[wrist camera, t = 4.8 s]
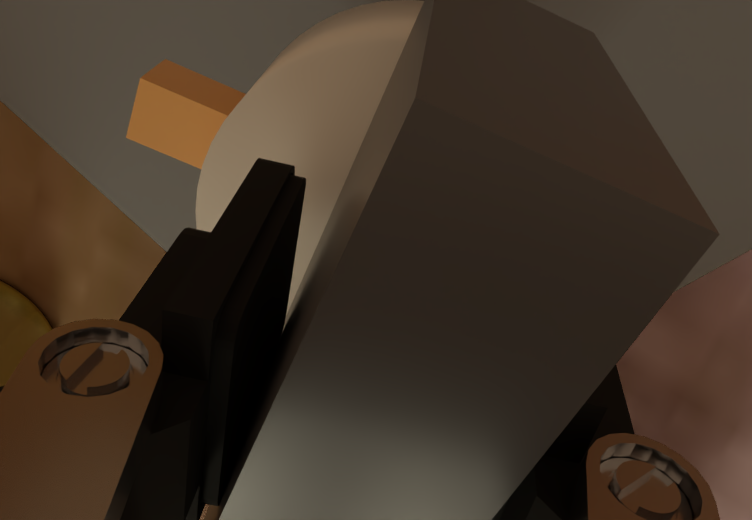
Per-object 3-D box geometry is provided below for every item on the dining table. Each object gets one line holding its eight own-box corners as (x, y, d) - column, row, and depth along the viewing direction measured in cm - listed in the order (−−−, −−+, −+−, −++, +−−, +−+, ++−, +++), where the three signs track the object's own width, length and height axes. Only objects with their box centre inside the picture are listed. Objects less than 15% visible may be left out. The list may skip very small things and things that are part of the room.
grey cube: (680, 45, 13) (982, 352, 5) (461, 381, 18) (456, 804, 10) (238, -167, 12) (-160, -160, 4) (128, 247, 17) (-160, 602, 9)
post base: (919, 120, 20) (1106, 241, 14) (388, 423, 29) (367, 579, 23) (495, -649, 14) (517, -1012, 8) (-34, 29, 22) (-220, 103, 16)
